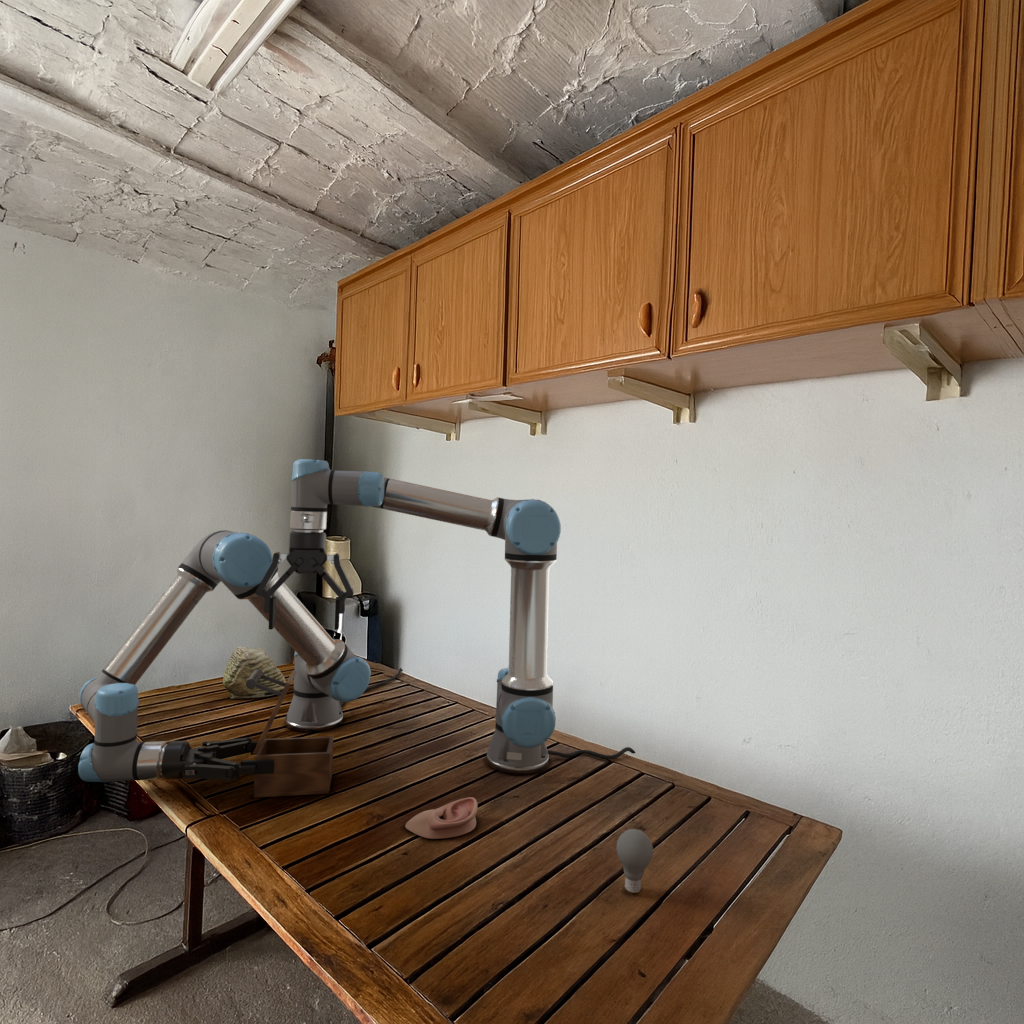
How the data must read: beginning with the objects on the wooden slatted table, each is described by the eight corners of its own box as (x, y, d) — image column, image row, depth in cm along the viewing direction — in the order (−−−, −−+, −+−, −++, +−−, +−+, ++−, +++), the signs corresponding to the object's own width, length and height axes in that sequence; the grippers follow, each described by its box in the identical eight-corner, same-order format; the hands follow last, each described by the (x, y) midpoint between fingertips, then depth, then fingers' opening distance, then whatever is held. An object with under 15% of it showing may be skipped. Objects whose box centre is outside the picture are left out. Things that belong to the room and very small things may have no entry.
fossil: (218, 695, 195) (220, 647, 195) (278, 685, 208) (279, 640, 207) (228, 703, 189) (230, 653, 188) (289, 692, 201) (290, 645, 201)
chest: (332, 774, 144) (333, 736, 144) (328, 793, 135) (329, 753, 135) (262, 777, 142) (263, 738, 141) (253, 797, 132) (254, 756, 132)
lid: (296, 671, 142) (260, 657, 141) (290, 684, 133) (251, 669, 131) (265, 737, 141) (229, 724, 140) (256, 754, 132) (217, 740, 130)
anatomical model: (399, 813, 120) (420, 787, 131) (398, 834, 120) (419, 806, 131) (467, 823, 117) (482, 796, 128) (466, 845, 117) (481, 815, 128)
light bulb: (610, 879, 108) (613, 822, 108) (644, 879, 109) (647, 822, 109) (619, 902, 102) (622, 840, 102) (655, 901, 103) (658, 840, 103)
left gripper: (182, 756, 144) (285, 753, 148) (145, 803, 122) (267, 797, 127) (183, 723, 144) (286, 721, 148) (146, 764, 122) (269, 760, 126)
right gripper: (243, 529, 131) (239, 631, 132) (366, 533, 136) (362, 632, 136) (250, 528, 139) (247, 624, 139) (367, 531, 143) (363, 625, 144)
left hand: (277, 756), depth 137 cm, fingers closed on chest, 10 cm apart
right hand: (304, 628), depth 138 cm, fingers open, 13 cm apart
